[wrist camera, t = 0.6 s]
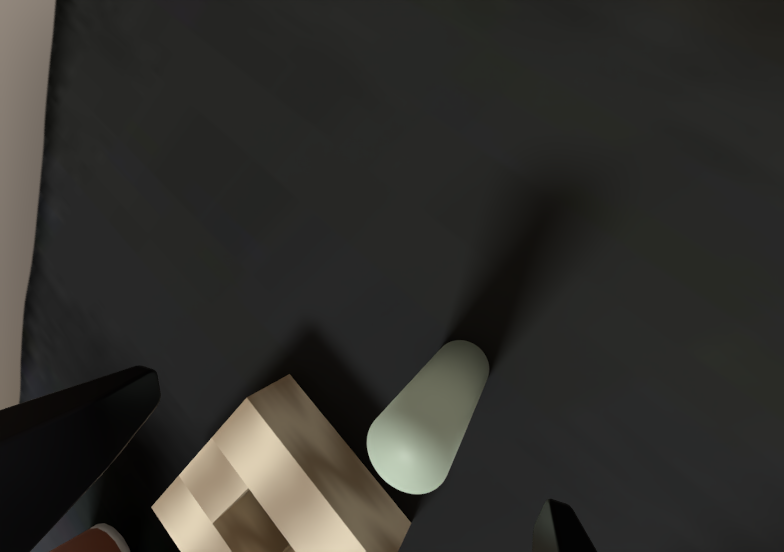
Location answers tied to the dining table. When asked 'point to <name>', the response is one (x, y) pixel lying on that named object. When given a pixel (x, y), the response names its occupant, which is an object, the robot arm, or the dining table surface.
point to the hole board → (279, 486)
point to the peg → (428, 419)
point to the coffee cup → (96, 541)
